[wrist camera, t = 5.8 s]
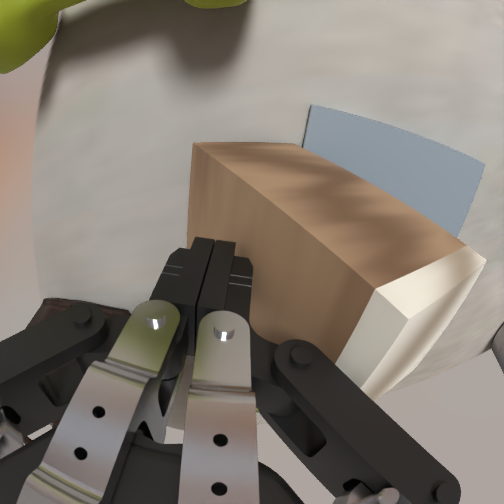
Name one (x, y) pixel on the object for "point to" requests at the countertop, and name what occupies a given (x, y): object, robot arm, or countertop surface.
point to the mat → (398, 163)
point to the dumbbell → (46, 26)
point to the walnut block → (331, 257)
